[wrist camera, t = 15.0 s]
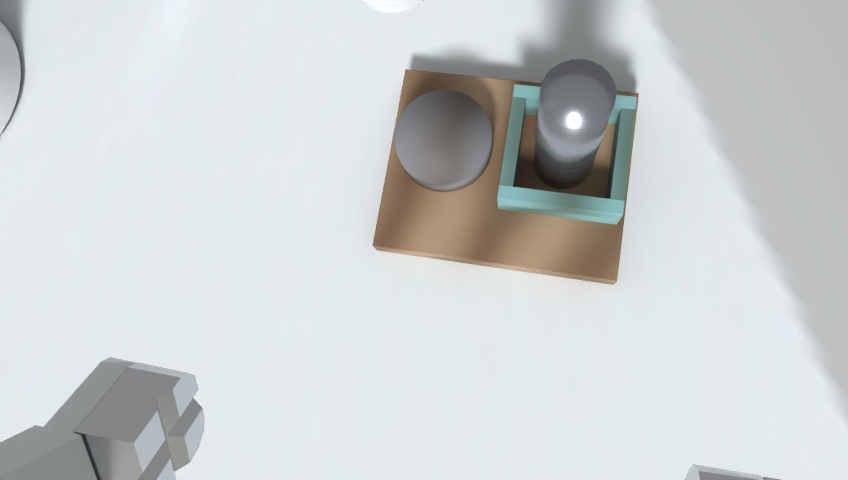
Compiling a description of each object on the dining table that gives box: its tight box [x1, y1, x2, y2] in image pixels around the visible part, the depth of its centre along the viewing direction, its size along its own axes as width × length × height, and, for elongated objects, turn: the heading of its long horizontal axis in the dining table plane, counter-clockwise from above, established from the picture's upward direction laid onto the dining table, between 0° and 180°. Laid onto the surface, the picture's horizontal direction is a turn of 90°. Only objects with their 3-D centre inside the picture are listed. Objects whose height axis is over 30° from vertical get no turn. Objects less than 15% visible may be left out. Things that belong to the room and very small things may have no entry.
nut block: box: [373, 70, 639, 284], centre depth 43 cm, size 15×12×4 cm
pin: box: [534, 60, 616, 189], centre depth 38 cm, size 4×4×10 cm
